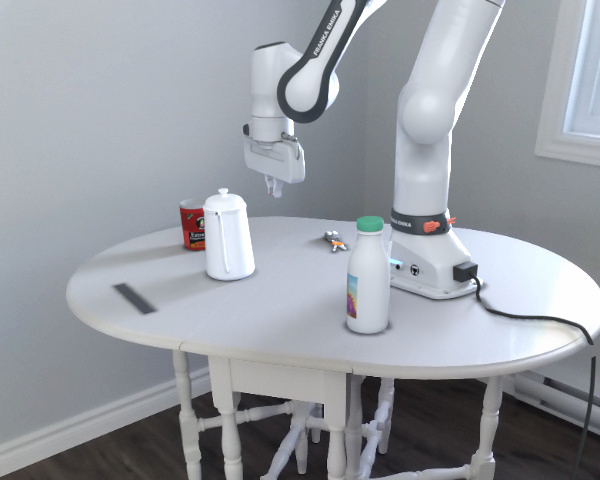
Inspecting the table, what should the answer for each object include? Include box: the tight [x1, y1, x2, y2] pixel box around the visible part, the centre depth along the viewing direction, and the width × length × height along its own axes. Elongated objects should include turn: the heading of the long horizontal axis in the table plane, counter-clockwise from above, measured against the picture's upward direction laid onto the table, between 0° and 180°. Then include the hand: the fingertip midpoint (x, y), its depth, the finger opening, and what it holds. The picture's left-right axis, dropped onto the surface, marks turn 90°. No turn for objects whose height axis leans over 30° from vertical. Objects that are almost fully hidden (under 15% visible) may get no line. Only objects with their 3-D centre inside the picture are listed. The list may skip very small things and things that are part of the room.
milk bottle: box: [346, 215, 391, 335], centre depth 114 cm, size 8×8×20 cm
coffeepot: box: [203, 187, 256, 282], centre depth 139 cm, size 11×25×19 cm, turn 179°
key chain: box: [324, 230, 347, 253], centre depth 160 cm, size 13×4×2 cm, turn 9°
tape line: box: [114, 283, 155, 314], centre depth 134 cm, size 18×2×1 cm, turn 33°
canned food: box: [178, 197, 207, 251], centre depth 159 cm, size 8×8×11 cm
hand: (275, 196), depth 142 cm, fingers closed
